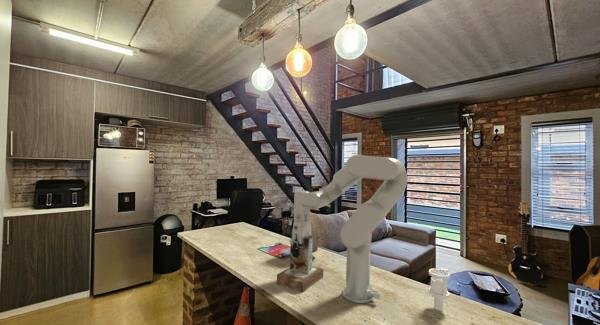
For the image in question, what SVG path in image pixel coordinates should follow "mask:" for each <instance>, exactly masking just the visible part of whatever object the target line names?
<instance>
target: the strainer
mask: <svg viewBox="0 0 600 325" xmlns="http://www.w3.org/2000/svg"><path fill="white" fill-rule="evenodd" d="M436 273H440V274H444V275H439V274H436ZM428 275H429V276H431V277H430V287H429V288H428V294H429V295H431V297H433V302H434V304H433V309H435V310H436V311H440V312H442V311H444V300H448V299H449V298H450V292H449V291H448V281H447V280H449V279H450V278H451V274H450V271H449V269H448V268H430V269H428Z"/></svg>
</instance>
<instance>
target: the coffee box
mask: <svg viewBox="0 0 600 325" xmlns="http://www.w3.org/2000/svg"><path fill="white" fill-rule="evenodd" d="M291 238H292V236H291V235H290V239H291ZM295 241H297V238H296V240H295ZM312 241H313V236H307V237H305V238H304V243H303V244H299V247H298V249H299V257H298V258H296V257H293V256H292V246H291V245H290V246H291V250H290V257H289V268H290V271H293V272H298V273H304V274H309V272H310V271H311V270H312V266H313V259H312V255H313V253H312ZM297 242H298V241H297ZM295 245H297V244H296V243H295Z"/></svg>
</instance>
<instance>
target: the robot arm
mask: <svg viewBox="0 0 600 325" xmlns="http://www.w3.org/2000/svg"><path fill="white" fill-rule="evenodd" d="M332 178H333V179H332V181H330V183H328V184H327V185H326V186H325V187H324V188H322V189H320V190H317V191H312V192H310V191H308V190H297V191H295V192H294V194H293V197H294V198H293V199H294V200H293V201H294V202H293V226H292V229H293V233H292V238H291V237H290V239H291V240H289V243H290V246H292V256H293V257H296V258H298V257H299V249H298V247H299V244H303V243H304V238H305V237H307V236H312V232H311V227H312V222H311V210H318V209H320V208H323V207H326V206H328V205H329V204H331V203H332V202H334V201H335V200H336V199H337V198H339V197H340V196H341V195H342V194H344V193H345V192H346V191H347V190H349V189H350V188H351V187H352V186H354V185H355V184H357V183H359V181H361V180H362V179H371V180H377V181H378V180H379V181H383V182H382V184H380V186H379V187H378V189H377V190H376V191H375V193H374V194H373V195H372V196H371V197H370V199H368V200H367V201H366V202H363V203H361V204H360V205H359V206H358V207H357V208H356V209H355V211H354V212H353V213H352V215H351V216H350V217H349V218H348V220H347V221H346V222H345V223H344V225H343V226H342V227H341V230H340V232H339V233H340V234H339V238H340V241H341V243H342V245H344V247H346V263H345V264H346V267H345V268H346V270H345V271H346V272H345V273H346V276H345V287H344V288H343V289H342V292H341V294H342V295H341V296H342V297H343V298H344V299H345V300H347V301H349V302H351V303H354V304H355V303H356V304H367V303H370V302H372V301H373V299H377V300H380V296H381V295H380V293H379V291H378V290H374V289H373V288H372V285H371V283H370V282H371V281H370V277H371V275H370V273H371V268H370V267H371V247H372V246H371V245H372V239H373V238H372V237H373V236H372V235H373V232H374V231H375V229H376V228H377V227H378V226H379V225H380V224H381V223H382V222H383V221H384V220H385V218H386V216H387V215H388V214H389V213H390V211H391V210H392V208H394V206H395V205H396V203H398V200H400V199H401V197H402V196H403V194H404V193H405V191H406V187H407V184H408V174H407V170H406V168H405V166H404V164H403V163H402V162H401V161H400V160H399V159H397V158H394V157H385V156H372V155H371V156H370V155H363V154H354V155H352V156H350V157H348V159H347V161H346V162H345V165H344V166H343V167H342V168H341V169H339V170H337V172H335V173H334V174H333V177H332ZM296 238H297V241H298V242H297V241H295V240H296ZM295 243H296V244H297V245H295Z"/></svg>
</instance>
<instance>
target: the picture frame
mask: <svg viewBox="0 0 600 325" xmlns="http://www.w3.org/2000/svg"><path fill="white" fill-rule="evenodd" d="M323 278H324V268H322V267H318V266H314V265H312V270H311V271H310V272H309V274H304V273H298V272H293V271H290V267H288V268H286V269H285V270H283V271H280V272H279V273H277V274H276V284H278V285H281V286H284V287H287V288H289V289H293V290H295V291H298V292H301V293H304V292H306V290H308V289H309V288H310V287H312V286H313V285H315V284H316V283H317V282H319V281H320V280H321V279H323Z"/></svg>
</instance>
